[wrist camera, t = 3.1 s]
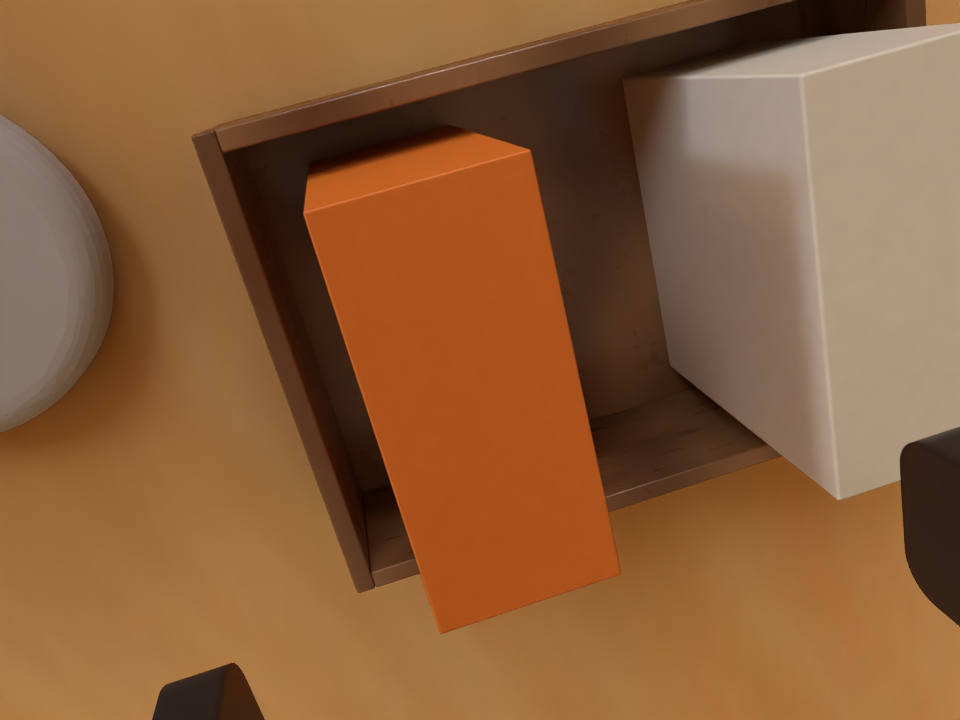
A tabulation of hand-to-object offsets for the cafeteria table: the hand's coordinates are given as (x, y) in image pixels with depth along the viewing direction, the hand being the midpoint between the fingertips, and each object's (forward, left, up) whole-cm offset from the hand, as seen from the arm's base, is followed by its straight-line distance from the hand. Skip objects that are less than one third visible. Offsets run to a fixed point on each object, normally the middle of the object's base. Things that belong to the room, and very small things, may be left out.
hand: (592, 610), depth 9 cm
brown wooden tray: (+4, 0, -16) cm, 16 cm away
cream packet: (+9, 0, -15) cm, 18 cm away
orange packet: (0, 0, -15) cm, 15 cm away
